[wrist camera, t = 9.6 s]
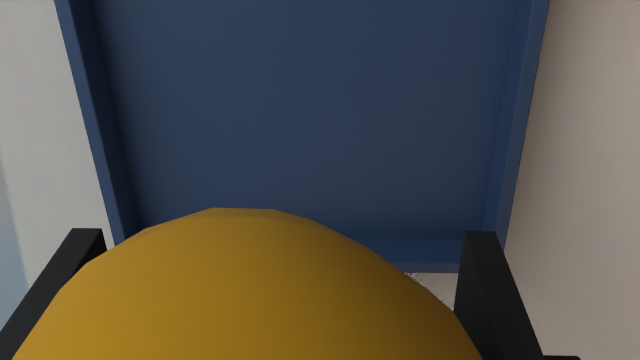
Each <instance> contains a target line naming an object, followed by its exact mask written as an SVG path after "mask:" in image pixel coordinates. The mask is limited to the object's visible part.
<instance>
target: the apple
mask: <svg viewBox="0 0 640 360" xmlns="http://www.w3.org/2000/svg"><path fill="white" fill-rule="evenodd" d="M12 360H483V359H482V357H481V355H480V354H479V352H478V350H477V349H476V347H475V345H474V344H473V342H472V341H471V339H470V337H469V336H468V334H467V333H466V331H465V329H464V328H463V326H462V325H461V323H460V321H459V320H458V318H457V317H456V315H455V314H454V312H453V311H452V310H451V309H450V308H448V307H447V306H446V305H445V304H444V303H443V302H441V301H440V300H439V299H438V298H437V297H436V296H434V295H433V294H432V293H431V292H430V291H429V290H427V289H426V288H425V287H424V286H422V285H421V284H419V283H418V282H416V281H415V280H414V279H412V278H411V277H409V276H408V275H406V274H405V273H404V272H402V271H401V270H399V269H398V268H396V267H395V266H393V265H392V264H391V263H389V262H388V261H386V260H385V259H383V258H382V257H381V256H379V255H378V254H376V253H375V252H373V251H372V250H370V249H369V248H368V247H366V246H364V245H362V244H360V243H358V242H356V241H354V240H352V239H350V238H348V237H346V236H344V235H342V234H340V233H338V232H336V231H334V230H332V229H330V228H328V227H326V226H324V225H322V224H320V223H318V222H316V221H314V220H312V219H308V218H304V217H300V216H296V215H293V214H289V213H285V212H281V211H277V210H273V209H248V208H209V209H206V210H203V211H200V212H197V213H194V214H190V215H187V216H184V217H181V218H178V219H174V220H171V221H168V222H165V223H162V224H159V225H155V226H152V227H149V228H146V229H144V230H142V231H140V232H139V233H137V234H135V235H134V236H132V237H130V238H129V239H127V240H125V241H123V242H122V243H120V244H118V245H117V246H115V247H113V248H111V249H110V250H108V251H106V252H105V253H103V254H101V255H100V256H98V257H96V258H94V259H93V260H91V261H89V262H88V263H86V264H85V265H84V266H83V267H82V268H81V269H80V270H79V271H78V272H77V273H76V274H75V275H74V276H73V277H72V278H71V279H70V280H69V281H68V282H67V283H66V284H65V285H64V286H63V287H62V288H61V289H60V290H59V291H58V293H57V294H56V296H55V297H54V299H53V300H52V302H51V303H50V305H49V306H48V307H47V309H46V310H45V312H44V313H43V315H42V316H41V318H40V319H39V321H38V322H37V323H36V325H35V326H34V328H33V329H32V331H31V332H30V334H29V335H28V336H27V338H26V339H25V341H24V342H23V344H22V345H21V347H20V348H19V350H18V351H17V352H16V354H15V355H14V357H13V358H12Z"/></svg>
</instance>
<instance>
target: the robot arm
mask: <svg viewBox="0 0 640 360" xmlns="http://www.w3.org/2000/svg"><path fill="white" fill-rule="evenodd" d="M106 251H107V248H106V244H105V240H104V236H103V232H102V229H98V228H72V230H71V231H70V232H69V234H68V235H67V237H66V238H65V240H64V241H63V242H62V244H61V245H60V247H59V248H58V250H57V251H56V253H55V254H54V255H53V257H52V258H51V260H50V261H49V263H48V264H47V265H46V267H45V268H44V270H43V271H42V273H41V274H40V275H39V277H38V278H37V280H36V281H35V283H34V284H33V286H32V287H31V288H30V290H29V291H28V293H27V294H26V296H25V297H24V299H23V300H22V301H21V303H20V304H19V306H18V307H17V308H16V310H15V311H14V313H13V314H12V316H11V317H10V319H9V320H8V322H7V323H6V324H5V326H4V327H3V329H2V330H1V332H0V360H12V358H13V357H14V355H15V354H16V352H17V351H18V350H19V348H20V347H21V345H22V344H23V342H24V341H25V339H26V338H27V336H28V335H29V334H30V332H31V331H32V329H33V328H34V326H35V325H36V323H37V322H38V321H39V319H40V318H41V316H42V315H43V313H44V312H45V310H46V309H47V307H48V306H49V305H50V303H51V302H52V300H53V299H54V297H55V296H56V294H57V293H58V291H59V290H60V289H61V288H62V287H63V286H64V285H65V284H66V283H67V282H68V281H69V280H70V279H71V278H72V277H73V276H74V275H75V274H76V273H77V272H78V271H79V270H80V269H81V268H82V267H83V266H84V265H85V264H86V263H88V262H89V261H91V260H93V259H94V258H96V257H98V256H100V255H101V254H103V253H105V252H106ZM453 312H454V314H455V315H456V317H457V318H458V320H459V321H460V323H461V325H462V326H463V328H464V329H465V331H466V333H467V334H468V336H469V337H470V339H471V341H472V342H473V344H474V345H475V347H476V349H477V350H478V352H479V354H480V355H481V357H482V359H483V360H581V359H580V358H579V357H578V356H548V355H543V353H542V351H541V348H540V346H539V343H538V340H537V338H536V335H535V333H534V330H533V328H532V325H531V322H530V320H529V317H528V315H527V312H526V310H525V307H524V304H523V302H522V299H521V297H520V294H519V291H518V289H517V286H516V284H515V281H514V279H513V276H512V273H511V271H510V268H509V266H508V263H507V261H506V258H505V255H504V253H503V250H502V248H501V245H500V243H499V240H498V237H497V235H496V232H495V231H464V237H463V245H462V252H461V259H460V267H459V274H458V281H457V288H456V296H455V303H454V310H453Z"/></svg>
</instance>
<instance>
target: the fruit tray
mask: <svg viewBox="0 0 640 360" xmlns="http://www.w3.org/2000/svg"><path fill="white" fill-rule="evenodd" d="M54 2H55V6H56V10H57V14H58V18H59V22H60V26H61V30H62V34H63V38H64V42H65V47H66V51H67V55H68V59H69V63H70V67H71V71H72V75H73V79H74V83H75V87H76V91H77V95H78V99H79V103H80V107H81V111H82V115H83V119H84V123H85V127H86V131H87V135H88V139H89V143H90V147H91V151H92V155H93V159H94V163H95V167H96V171H97V175H98V180H99V184H100V188H101V192H102V196H103V200H104V204H105V208H106V212H107V216H108V220H109V224H110V228H111V232H112V236H113V240H114V244H115V246H117V245H118V244H120V243H122V242H123V241H125V240H127V239H129V238H130V237H132V236H134V235H135V234H137V233H139V232H140V231H142V230H144V229H146V228H149V227H152V226H155V225H159V224H162V223H165V222H168V221H171V220H174V219H178V218H181V217H184V216H187V215H190V214H194V213H197V212H200V211H203V210H206V209H209V208H248V209H273V210H277V211H281V212H285V213H289V214H293V215H296V216H300V217H304V218H308V219H312V220H314V221H316V222H318V223H320V224H322V225H324V226H326V227H328V228H330V229H332V230H334V231H336V232H338V233H340V234H342V235H344V236H346V237H348V238H350V239H352V240H354V241H356V242H358V243H360V244H362V245H364V246H366V247H368V248H369V249H370V250H372V251H373V252H375V253H376V254H378V255H379V256H381V257H382V258H383V259H385V260H386V261H388V262H389V263H391V264H392V265H393V266H395V267H396V268H398V269H399V270H401V271H402V272H405V273H459V267H460V259H461V252H462V245H463V237H464V231H495V232H496V235H497V237H498V240H499V243H500V245H501V248H502V250H503V253H504V247H505V242H506V236H507V231H508V225H509V220H510V215H511V209H512V204H513V198H514V193H515V187H516V182H517V176H518V171H519V166H520V160H521V155H522V149H523V144H524V138H525V133H526V128H527V122H528V117H529V111H530V106H531V100H532V95H533V89H534V84H535V79H536V73H537V68H538V62H539V57H540V51H541V46H542V41H543V35H544V30H545V24H546V19H547V13H548V8H549V2H550V0H54Z"/></svg>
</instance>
